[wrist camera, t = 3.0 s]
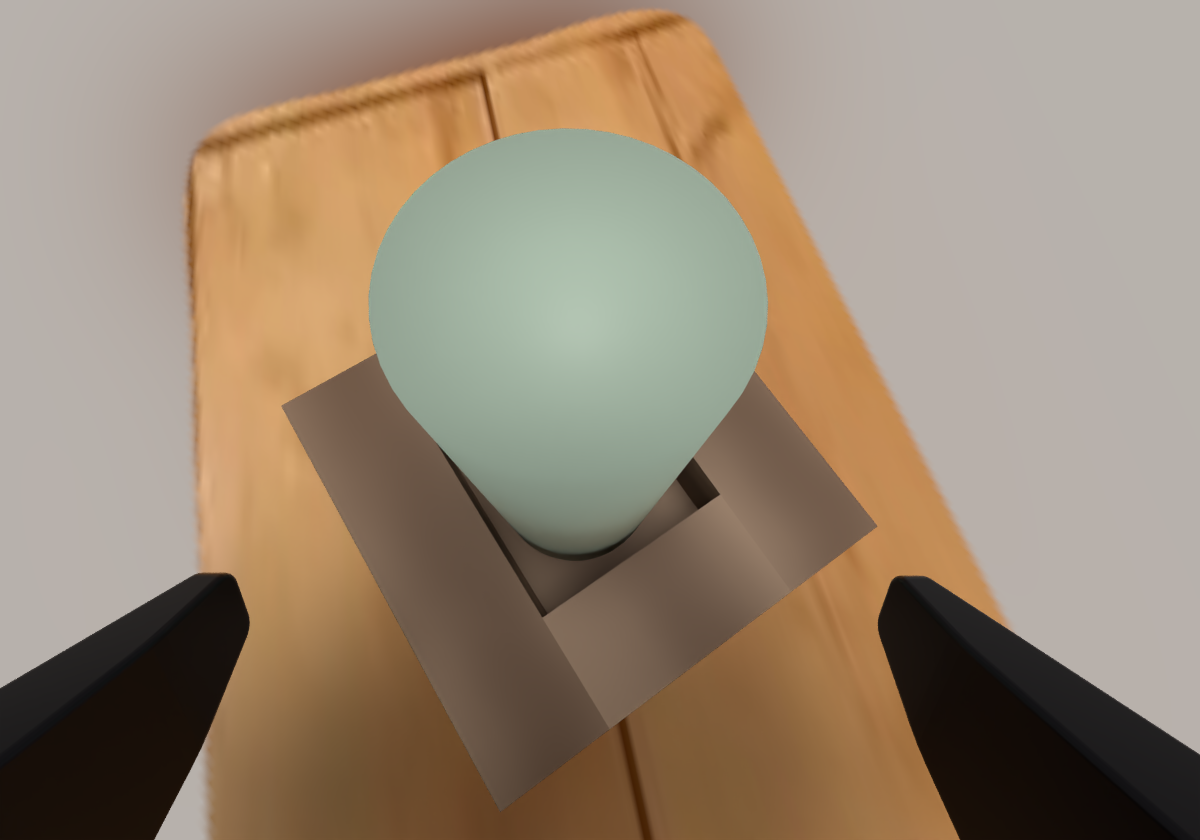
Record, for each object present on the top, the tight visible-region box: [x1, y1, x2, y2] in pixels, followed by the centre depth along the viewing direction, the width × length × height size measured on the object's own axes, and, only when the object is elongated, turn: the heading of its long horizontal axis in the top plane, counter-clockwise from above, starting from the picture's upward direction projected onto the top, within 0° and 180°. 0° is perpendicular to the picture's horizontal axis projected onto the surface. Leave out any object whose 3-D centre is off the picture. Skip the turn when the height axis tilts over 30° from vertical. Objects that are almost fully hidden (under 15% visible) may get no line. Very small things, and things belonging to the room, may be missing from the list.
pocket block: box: [282, 354, 877, 812], centre depth 18 cm, size 12×12×4 cm
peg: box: [369, 129, 768, 561], centre depth 13 cm, size 5×5×12 cm
